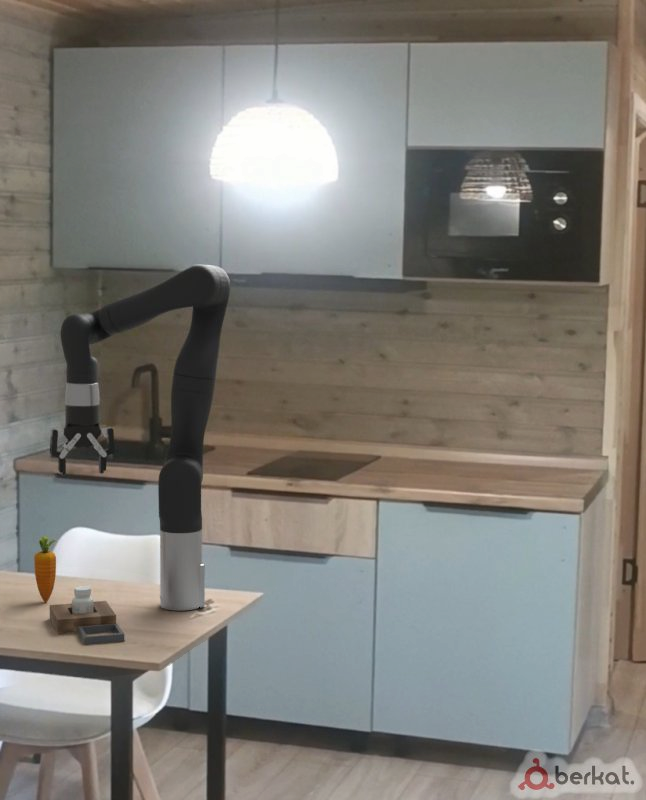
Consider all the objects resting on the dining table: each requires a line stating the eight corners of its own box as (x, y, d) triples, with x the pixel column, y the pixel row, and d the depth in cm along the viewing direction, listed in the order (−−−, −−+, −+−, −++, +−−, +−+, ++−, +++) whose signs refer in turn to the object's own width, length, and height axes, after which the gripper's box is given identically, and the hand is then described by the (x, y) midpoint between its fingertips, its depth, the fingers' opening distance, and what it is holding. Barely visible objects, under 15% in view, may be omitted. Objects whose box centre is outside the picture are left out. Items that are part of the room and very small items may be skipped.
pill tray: (117, 630, 274) (117, 623, 274) (124, 641, 267) (124, 633, 266) (78, 633, 271) (78, 626, 271) (84, 644, 264) (84, 637, 264)
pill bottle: (93, 620, 281) (93, 584, 280) (93, 626, 277) (93, 590, 276) (72, 621, 281) (72, 585, 280) (72, 627, 276) (71, 590, 275)
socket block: (106, 614, 286) (105, 600, 286) (116, 629, 275) (116, 615, 275) (49, 618, 282) (49, 605, 282) (57, 634, 271) (57, 619, 271)
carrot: (38, 598, 299) (37, 533, 297) (59, 599, 298) (59, 533, 296) (31, 604, 294) (30, 537, 292) (53, 605, 293) (52, 538, 291)
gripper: (110, 400, 305) (110, 470, 307) (47, 401, 300) (48, 472, 302) (117, 403, 298) (116, 475, 300) (53, 405, 293) (53, 477, 295)
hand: (82, 473), depth 301 cm, fingers open, 8 cm apart
